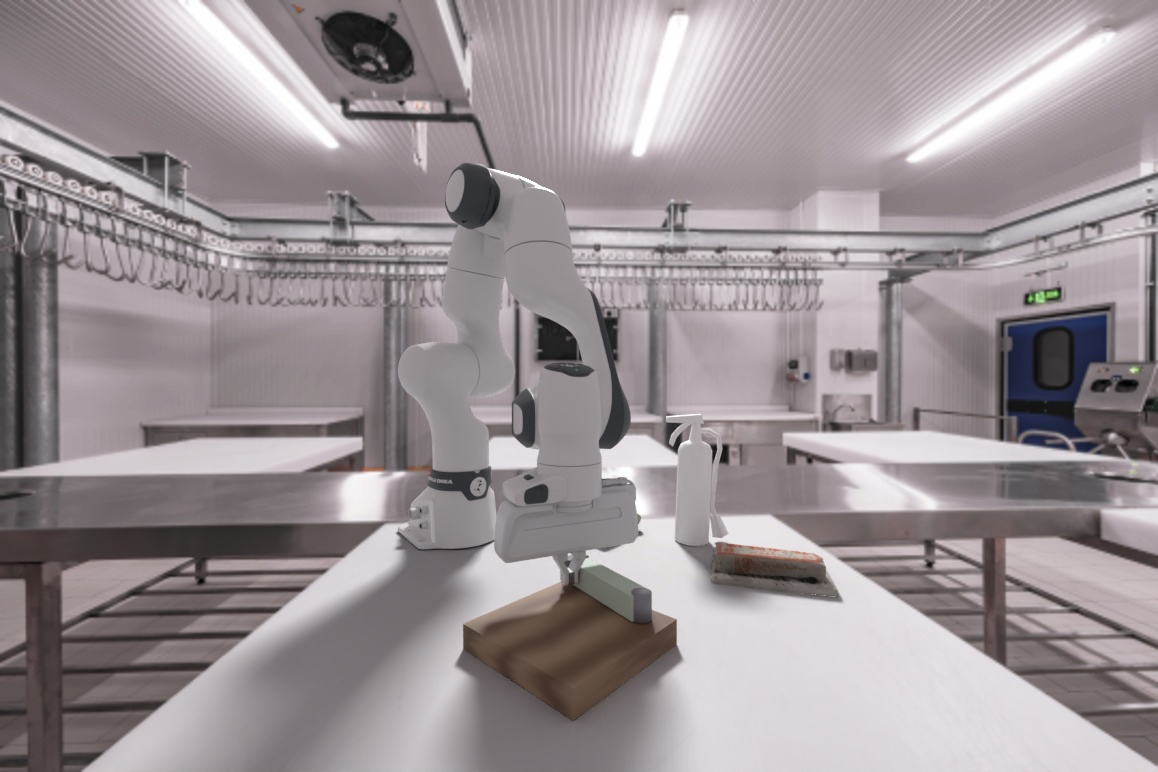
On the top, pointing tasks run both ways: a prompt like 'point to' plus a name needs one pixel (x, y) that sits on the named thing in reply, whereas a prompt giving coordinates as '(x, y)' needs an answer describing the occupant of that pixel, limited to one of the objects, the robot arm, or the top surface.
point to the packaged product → (771, 569)
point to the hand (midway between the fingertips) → (569, 583)
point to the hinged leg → (614, 590)
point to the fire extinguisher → (696, 484)
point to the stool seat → (567, 646)
